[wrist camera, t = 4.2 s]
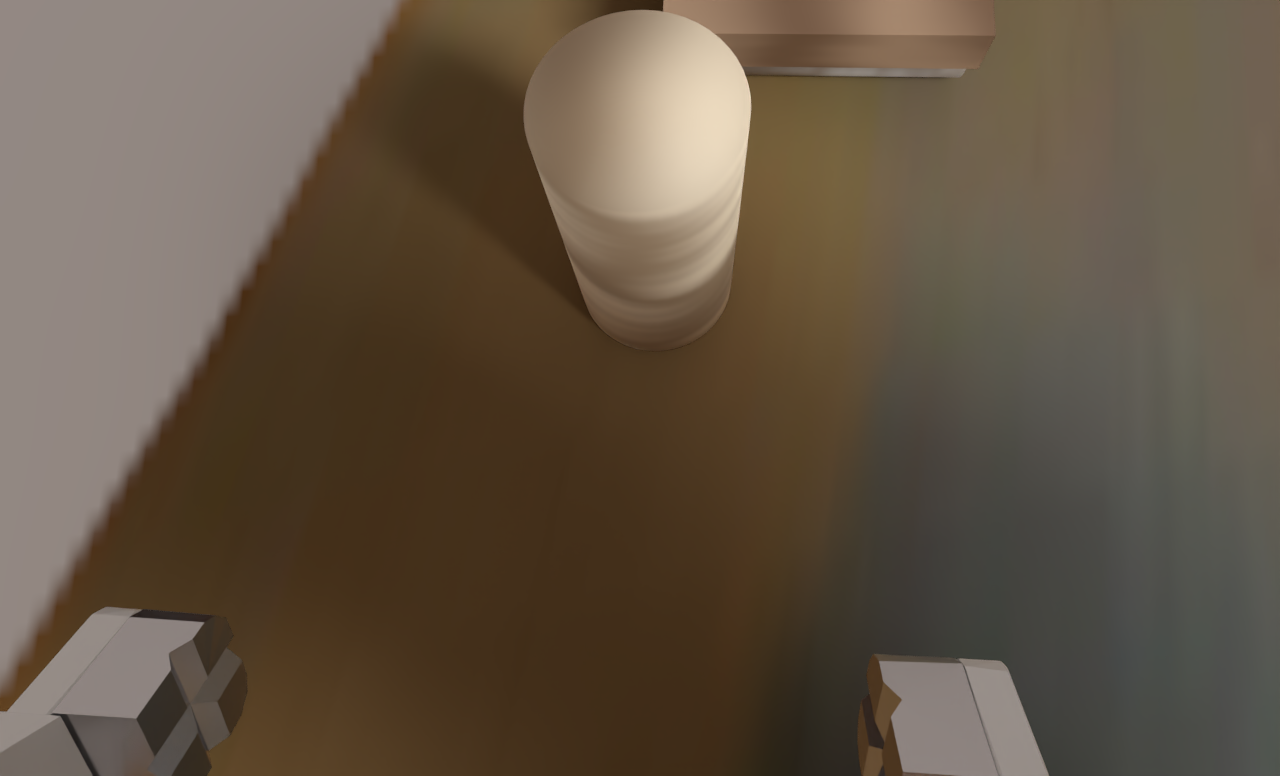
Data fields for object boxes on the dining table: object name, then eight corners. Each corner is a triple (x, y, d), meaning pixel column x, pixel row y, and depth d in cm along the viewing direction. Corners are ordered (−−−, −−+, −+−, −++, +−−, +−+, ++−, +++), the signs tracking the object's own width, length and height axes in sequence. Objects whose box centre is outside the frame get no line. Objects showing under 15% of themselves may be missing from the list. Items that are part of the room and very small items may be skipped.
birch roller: (733, 213, 28) (754, 10, 19) (728, 353, 27) (748, 214, 17) (587, 210, 29) (533, 9, 19) (576, 348, 27) (512, 208, 18)
